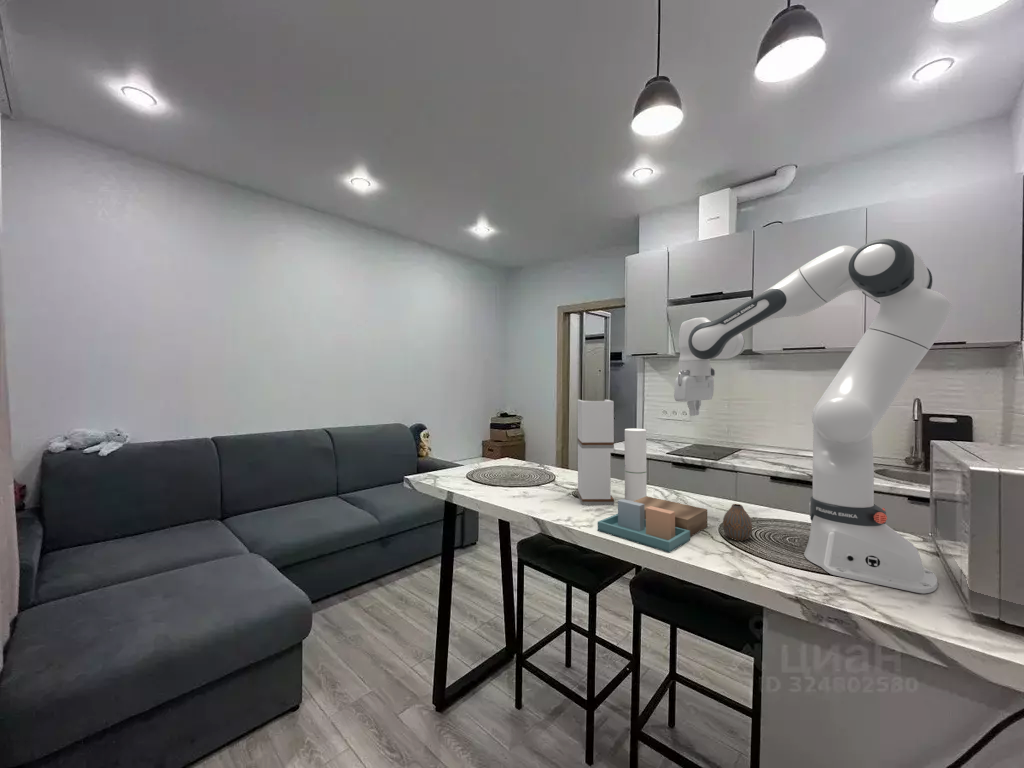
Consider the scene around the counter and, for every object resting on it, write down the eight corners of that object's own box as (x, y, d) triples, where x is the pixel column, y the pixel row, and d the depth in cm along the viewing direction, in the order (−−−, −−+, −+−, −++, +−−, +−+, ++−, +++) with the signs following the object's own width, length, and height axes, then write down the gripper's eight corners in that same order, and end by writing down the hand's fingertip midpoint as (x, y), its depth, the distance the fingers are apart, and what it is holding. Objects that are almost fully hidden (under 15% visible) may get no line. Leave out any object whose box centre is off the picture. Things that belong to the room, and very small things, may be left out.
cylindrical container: (644, 499, 148) (643, 428, 148) (648, 505, 141) (648, 430, 141) (623, 499, 149) (623, 428, 149) (626, 505, 142) (626, 430, 142)
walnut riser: (707, 526, 121) (707, 509, 121) (687, 538, 112) (687, 519, 112) (646, 511, 134) (646, 496, 134) (624, 521, 126) (624, 504, 126)
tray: (690, 540, 111) (690, 530, 111) (669, 552, 103) (669, 542, 103) (620, 520, 126) (620, 512, 126) (597, 530, 118) (597, 521, 118)
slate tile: (644, 504, 118) (639, 505, 116) (644, 529, 118) (639, 531, 116) (622, 498, 123) (617, 500, 121) (622, 522, 123) (617, 524, 121)
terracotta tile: (675, 511, 111) (670, 513, 109) (675, 538, 111) (670, 540, 109) (650, 505, 116) (645, 507, 114) (650, 531, 116) (645, 533, 114)
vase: (723, 531, 117) (723, 500, 117) (752, 536, 113) (752, 503, 113) (721, 539, 111) (721, 506, 111) (752, 545, 107) (751, 510, 107)
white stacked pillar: (614, 505, 142) (613, 401, 141) (582, 505, 142) (581, 401, 142) (607, 495, 153) (606, 399, 153) (577, 495, 154) (577, 399, 153)
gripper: (689, 370, 121) (689, 418, 121) (717, 370, 135) (717, 413, 135) (668, 370, 126) (668, 416, 126) (697, 371, 140) (697, 412, 140)
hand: (694, 415), depth 131 cm, fingers closed
